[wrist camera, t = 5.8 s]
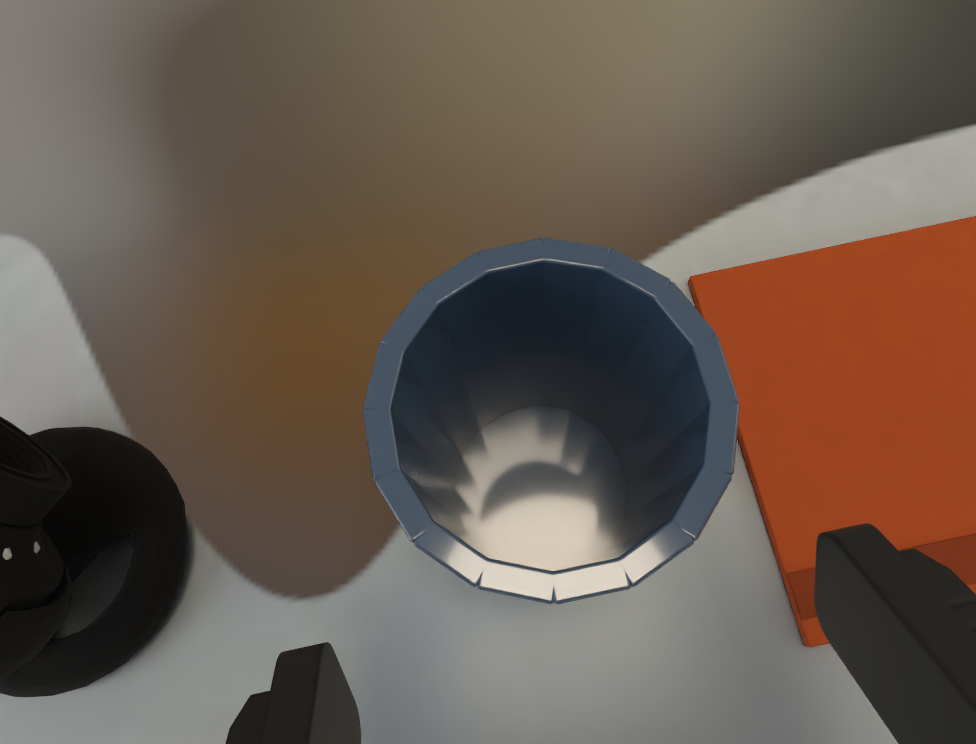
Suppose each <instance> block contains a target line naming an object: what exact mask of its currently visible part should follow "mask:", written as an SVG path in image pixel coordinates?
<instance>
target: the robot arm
mask: <svg viewBox="0 0 976 744" xmlns="http://www.w3.org/2000/svg"><path fill="white" fill-rule="evenodd" d="M814 605H815V610H816V614H817V618H818V621H819V623H820V626H821V628H822V630H823V632H824V634H825V636H826V638H827V639H828V641H829V643H830V644H831V646H832V647H833V648H834V650H835V651H836V653H837V654H838V656H839V657H840V659H841V660H842V662H843V663H844V665H845V666H846V667H847V669H848V670H849V672H850V673H851V675H852V676H853V678H854V679H855V681H856V682H857V684H858V685H859V686H860V688H861V689H862V691H863V692H864V694H865V695H866V697H867V698H868V700H869V701H870V703H871V704H872V706H873V707H874V708H875V710H876V711H877V713H878V714H879V716H880V717H881V719H882V720H883V722H884V723H885V725H886V726H887V727H888V729H889V730H890V732H891V733H892V735H893V736H894V738H895V739H896V741H897V742H898V744H976V594H975V593H974V592H973V591H972V590H971V589H970V588H969V587H968V586H967V585H966V584H965V583H964V582H963V581H962V580H961V579H960V578H959V577H958V576H957V575H956V574H955V573H954V572H953V571H952V570H951V569H950V568H948V567H946V566H945V565H943V564H941V563H939V562H937V561H936V560H934V559H932V558H930V557H929V556H927V555H925V554H923V553H921V552H920V551H918V550H916V549H914V548H913V549H908V550H904V551H898V550H897V549H896V548H895V547H894V546H893V544H892V543H891V542H890V541H889V540H888V539H887V538H886V537H885V536H884V535H883V534H882V533H881V532H880V531H879V530H878V529H877V528H876V527H875V526H873V525H872V524H870V523H863V524H859V525H854V526H850V527H845V528H840V529H836V530H831V531H827V532H822V533H820V534H819V535H818V537H817V543H816V565H815V587H814ZM226 744H361V727H360V719H359V713H358V709H357V705H356V702H355V699H354V697H353V695H352V692H351V690H350V688H349V685H348V683H347V680H346V678H345V676H344V673H343V671H342V669H341V666H340V664H339V661H338V659H337V657H336V654H335V652H334V650H333V648H332V646H331V644H329V643H328V642H326V643H321V644H317V645H312V646H307V647H303V648H298V649H294V650H289V651H285V652H282V653H280V655H279V656H278V659H277V662H276V666H275V671H274V675H273V680H272V685H271V689H270V691H267V692H262V693H258V694H253V695H250V697H249V698H248V700H247V702H246V703H245V705H244V706H243V708H242V710H241V711H240V713H239V714H238V716H237V718H236V719H235V721H234V722H233V724H232V725H231V727H230V729H229V733H228V737H227V741H226Z"/></svg>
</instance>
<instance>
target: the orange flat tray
mask: <svg viewBox="0 0 976 744" xmlns="http://www.w3.org/2000/svg"><path fill="white" fill-rule="evenodd" d="M688 283H689V286H690V290H691V293H692V296H693V299H694V302H695V305H696V308H697V311H698V312H699V313H700V314H701V315H702V317H703V318H704V319H705V320H706V321H707V322H708V324H709V325H710V326H711V327H712V328H713V330H714V331H715V332H716V336H718V337H719V340H720V343H721V346H722V349H723V352H724V355H725V358H726V361H727V365H728V368H729V371H730V374H731V377H732V380H733V383H734V386H735V389H736V392H737V395H738V398H739V402H738V403H739V406H740V409H739V419H738V430H737V436H738V440H739V443H740V446H741V449H742V452H743V455H744V458H745V461H746V464H747V468H748V471H749V474H750V477H751V480H752V483H753V486H754V489H755V493H756V496H757V499H758V502H759V505H760V508H761V511H762V514H763V518H764V521H765V524H766V527H767V530H768V533H769V536H770V539H771V543H772V546H773V549H774V552H775V555H776V558H777V561H778V564H779V568H780V571H781V574H782V577H783V580H784V583H785V586H786V589H787V593H788V596H789V599H790V602H791V605H792V608H793V611H794V614H795V618H796V621H797V624H798V627H799V630H800V633H801V636H802V639H803V643H804V645H805V646H808V647H814V646H819V645H823V644H828V643H829V641H828V639H827V638H826V636H825V634H824V632H823V630H822V628H821V626H820V623H819V621H818V618H817V614H816V610H815V605H814V587H815V565H816V543H817V537H818V535H819V534H820V533H822V532H827V531H831V530H836V529H840V528H845V527H850V526H854V525H859V524H863V523H870V524H872V525H873V526H875V527H876V528H877V529H878V530H879V531H880V532H881V533H882V534H883V535H884V536H885V537H886V538H887V539H888V540H889V541H890V542H891V543H892V544H893V546H894V547H895V548H896V549H897V550H898V551H904V550H908V549H913V548H914V549H916V550H918V551H920V552H921V553H923V554H925V555H927V556H929V557H930V558H932V559H934V560H936V561H937V562H939V563H941V564H943V565H945V566H946V567H948V568H950V569H951V570H952V571H953V572H954V573H955V574H956V575H957V576H958V577H959V578H960V579H961V580H962V581H963V582H964V583H965V584H966V585H967V586H968V587H969V588H970V589H971V590H972V591H973V592H974V593H975V594H976V216H975V217H970V218H965V219H960V220H956V221H951V222H946V223H941V224H937V225H932V226H927V227H922V228H918V229H913V230H908V231H903V232H899V233H894V234H889V235H884V236H880V237H875V238H870V239H865V240H861V241H856V242H851V243H846V244H842V245H837V246H832V247H827V248H823V249H818V250H813V251H808V252H804V253H799V254H794V255H789V256H785V257H780V258H775V259H770V260H766V261H761V262H756V263H751V264H747V265H742V266H737V267H733V268H728V269H723V270H718V271H714V272H709V273H704V274H699V275H695V276H691V277H690V278H689V280H688Z"/></svg>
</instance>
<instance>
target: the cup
mask: <svg viewBox="0 0 976 744" xmlns="http://www.w3.org/2000/svg"><path fill="white" fill-rule="evenodd" d="M738 402H739V398H738V395H737V392H736V389H735V386H734V383H733V380H732V377H731V374H730V371H729V368H728V365H727V361H726V358H725V355H724V352H723V349H722V346H721V343H720V340H719V337H718V336H716V332H715V331H714V330H713V328H712V327H711V326H710V325H709V324H708V322H707V321H706V320H705V319H704V318H703V317H702V315H701V314H700V313H699V312H698V311H697V309H696V308H695V307H694V306H693V305H692V304H691V302H690V301H689V300H688V299H687V298H686V297H685V295H684V294H683V293H682V292H681V291H680V289H679V288H678V287H677V286H676V285H675V284H674V283H673V282H671V281H670V279H668V278H666V277H665V276H663V275H661V274H659V273H657V272H655V271H654V270H652V269H650V268H648V267H646V266H644V265H643V264H641V263H639V262H637V261H635V260H633V259H632V258H629V257H628V256H626V255H624V254H622V253H620V252H619V251H617V250H615V249H610V248H609V247H605V246H598V245H592V244H585V243H578V242H570V241H564V240H557V239H550V238H544V240H543V239H542V238H539V239H534V240H529V241H524V242H520V243H515V244H510V245H505V246H501V247H496V248H491V249H486V250H482V251H479V252H478V253H474V254H472V255H471V256H469V257H468V258H466V259H464V260H463V261H461V262H460V263H458V264H457V265H455V266H453V267H452V268H450V269H449V270H447V271H446V272H444V273H442V274H441V275H439V276H438V277H436V278H435V279H433V280H431V281H430V282H428V283H427V284H425V285H424V286H422V288H421V289H419V290H418V291H417V293H416V294H415V295H414V297H413V298H412V299H411V301H410V302H409V303H408V305H407V306H406V308H405V309H404V310H403V312H402V313H401V314H400V316H399V317H398V318H397V320H396V321H395V322H394V324H393V325H392V327H391V328H390V329H389V331H388V332H387V333H386V335H385V336H384V337H383V339H382V340H381V344H380V345H379V347H378V351H377V355H376V359H375V363H374V367H373V370H372V375H371V379H370V382H369V386H368V390H367V394H366V398H365V402H364V409H365V410H364V411H363V416H364V423H365V430H366V436H367V443H368V450H369V456H370V463H371V469H372V477H373V478H374V480H375V484H376V486H377V487H378V489H379V491H380V492H381V494H382V496H383V497H384V499H385V500H386V502H387V504H388V505H389V507H390V509H391V510H392V512H393V514H394V515H395V517H396V518H397V520H398V522H399V523H400V525H401V527H402V528H403V530H404V531H405V533H406V535H407V536H408V538H409V539H410V541H411V542H413V543H414V545H415V546H416V547H417V548H419V549H420V550H422V551H423V552H424V553H426V554H427V555H429V556H430V557H432V558H433V559H434V560H436V561H437V562H439V563H440V564H441V565H443V566H444V567H446V568H447V569H449V570H450V571H451V572H453V573H454V574H456V575H457V576H459V577H460V578H461V579H463V580H464V581H466V582H467V583H469V584H470V585H471V586H473V587H477V588H478V589H480V590H484V591H489V592H494V593H499V594H504V595H509V596H513V597H518V598H523V599H528V600H533V601H538V602H542V603H547V604H553V603H555V604H561V603H566V602H570V601H575V600H580V599H585V598H589V597H594V596H599V595H604V594H608V593H613V592H618V591H622V590H627V589H629V588H631V587H634V586H636V585H638V584H639V583H640V582H642V581H643V580H645V579H646V578H647V577H649V576H650V575H651V574H653V573H654V572H656V571H657V570H658V569H660V568H661V567H662V566H664V565H665V564H667V563H668V562H669V561H671V560H672V559H673V558H675V557H676V556H678V555H679V554H680V553H682V552H683V551H684V550H686V549H687V548H689V547H690V546H691V545H693V543H694V541H695V540H697V539H698V537H699V536H700V534H701V532H702V530H703V529H704V527H705V525H706V523H707V522H708V520H709V518H710V516H711V514H712V513H713V511H714V509H715V507H716V506H717V504H718V502H719V500H720V499H721V497H722V495H723V493H724V492H725V490H726V488H727V486H728V484H729V483H730V481H731V478H732V476H731V475H732V474H733V473H734V462H735V451H736V441H737V430H738V419H739V409H740V406H739V403H738Z"/></svg>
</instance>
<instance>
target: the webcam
mask: <svg viewBox="0 0 976 744" xmlns="http://www.w3.org/2000/svg"><path fill="white" fill-rule="evenodd" d="M124 535H131V537H132V538H133V554H132V559H131V563H130V566H129V569H128V572H127V575H126V578H125V581H124V584H123V586H122V587H121V589H120V591H119V592H118V594H117V596H116V597H115V599H114V601H113V602H112V604H111V605H110V606H109V607H108V608H107V609H106V610H105V611H104V612H103V613H102V614H101V615H100V616H99V617H98V618H97V619H96V620H95V621H94V622H93V623H91V624H90V625H89V626H87V627H86V628H84V629H83V630H82V631H80V632H78V633H75V634H73V635H70V636H68V637H65V638H63V639H58V640H53V641H49V640H50V639H51V637H52V636H53V635H54V633H55V632H56V631H57V629H58V628H59V626H60V625H61V623H62V622H63V620H64V618H65V616H66V614H67V611H68V608H69V605H70V601H71V593H72V582H73V581H74V579H75V578H76V577H77V576H78V575H79V574H80V573H81V572H82V571H83V570H84V569H85V568H86V566H87V565H88V564H89V563H90V562H91V561H92V560H93V559H94V558H95V557H96V556H97V555H98V553H100V552H101V551H102V550H103V549H104V548H105V547H107V546H108V545H109V544H110V543H111V542H113V541H114V540H116V539H118V538H120V537H122V536H124ZM187 546H188V539H187V528H186V516H185V505H184V501H183V499H182V497H181V494H180V492H179V490H178V488H177V485H176V484H175V482H174V480H173V479H172V477H171V475H170V474H169V472H168V470H167V469H166V468H165V467H164V466H163V465H162V463H161V462H160V461H159V460H158V459H157V458H156V457H155V456H154V455H153V453H152V452H151V451H149V450H148V449H146V448H145V447H143V446H142V445H140V444H139V443H137V442H135V441H133V440H132V439H130V438H128V437H125V436H123V435H120V434H117V433H115V432H112V431H108V430H104V429H99V428H93V427H71V428H54V429H48V430H44V431H41V432H38V433H35V434H32V435H27V434H26V433H25V432H23V431H22V430H20V429H19V428H17V427H16V426H15V425H13V424H12V423H10V422H8V421H7V420H5V419H4V418H2V417H0V693H2V694H6V695H10V696H15V697H37V696H52V695H56V694H60V693H64V692H67V691H71V690H75V689H78V688H82V687H85V686H87V685H89V684H91V683H93V682H94V681H96V680H98V679H100V678H102V677H103V676H105V675H107V674H109V673H110V672H112V671H114V670H115V669H117V668H118V667H120V666H121V665H123V664H124V663H126V662H127V661H128V660H129V659H130V658H131V657H132V656H133V655H134V654H135V653H136V652H137V651H138V650H140V649H141V648H142V647H143V646H144V645H145V644H146V643H147V641H148V640H149V639H150V638H151V637H152V635H153V634H154V633H155V632H156V631H157V629H158V628H159V626H160V624H161V623H162V621H163V619H164V618H165V616H166V614H167V613H168V611H169V609H170V608H171V606H172V604H173V601H174V599H175V597H176V594H177V592H178V589H179V587H180V584H181V582H182V579H183V574H184V570H185V565H186V561H187Z"/></svg>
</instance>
